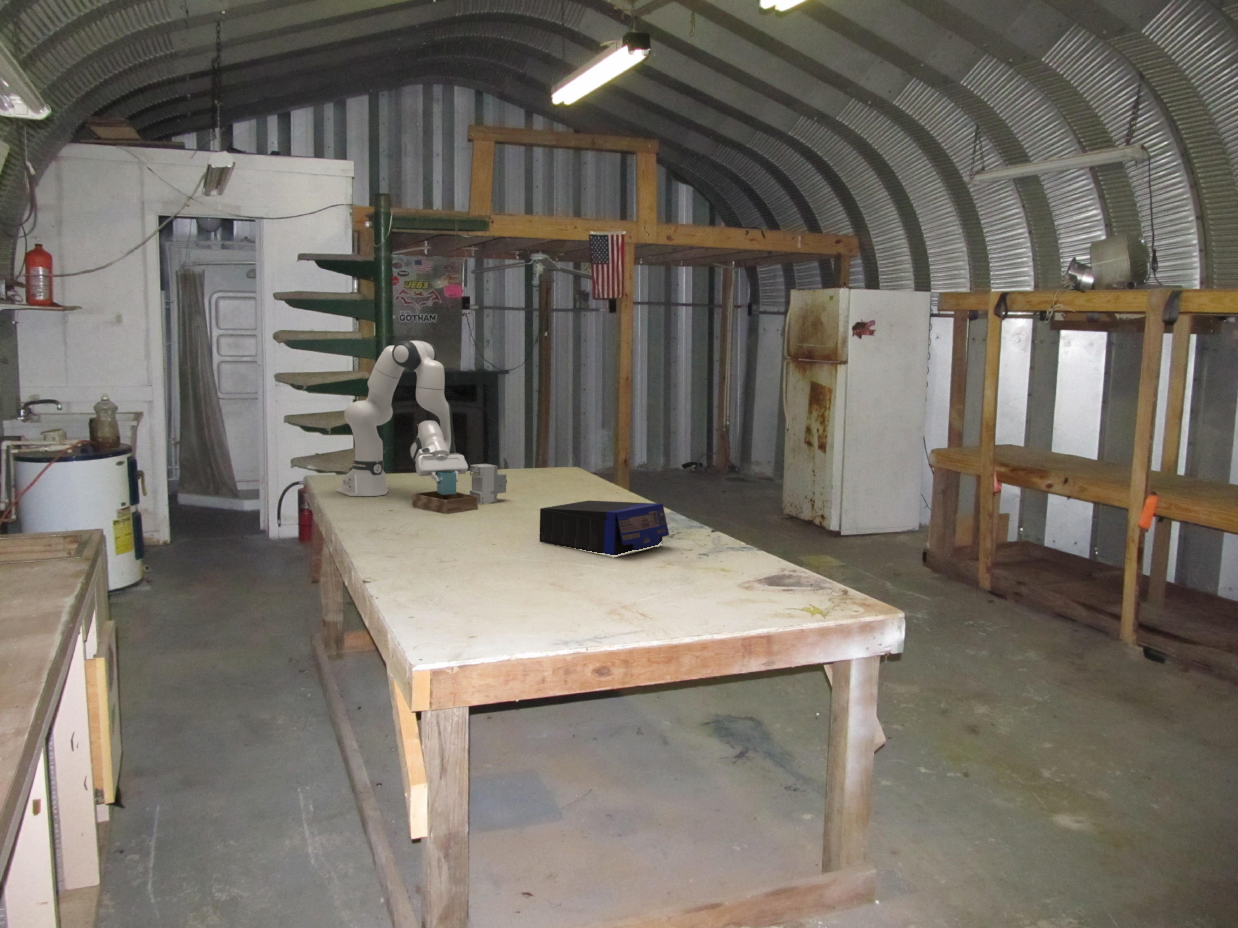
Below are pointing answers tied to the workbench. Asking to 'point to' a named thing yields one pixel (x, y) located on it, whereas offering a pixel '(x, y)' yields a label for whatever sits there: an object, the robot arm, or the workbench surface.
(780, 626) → the workbench surface
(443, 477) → the teal crate
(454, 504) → the walnut crate
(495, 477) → the circuit breaker
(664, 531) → the black and blue box
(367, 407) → the robot arm
